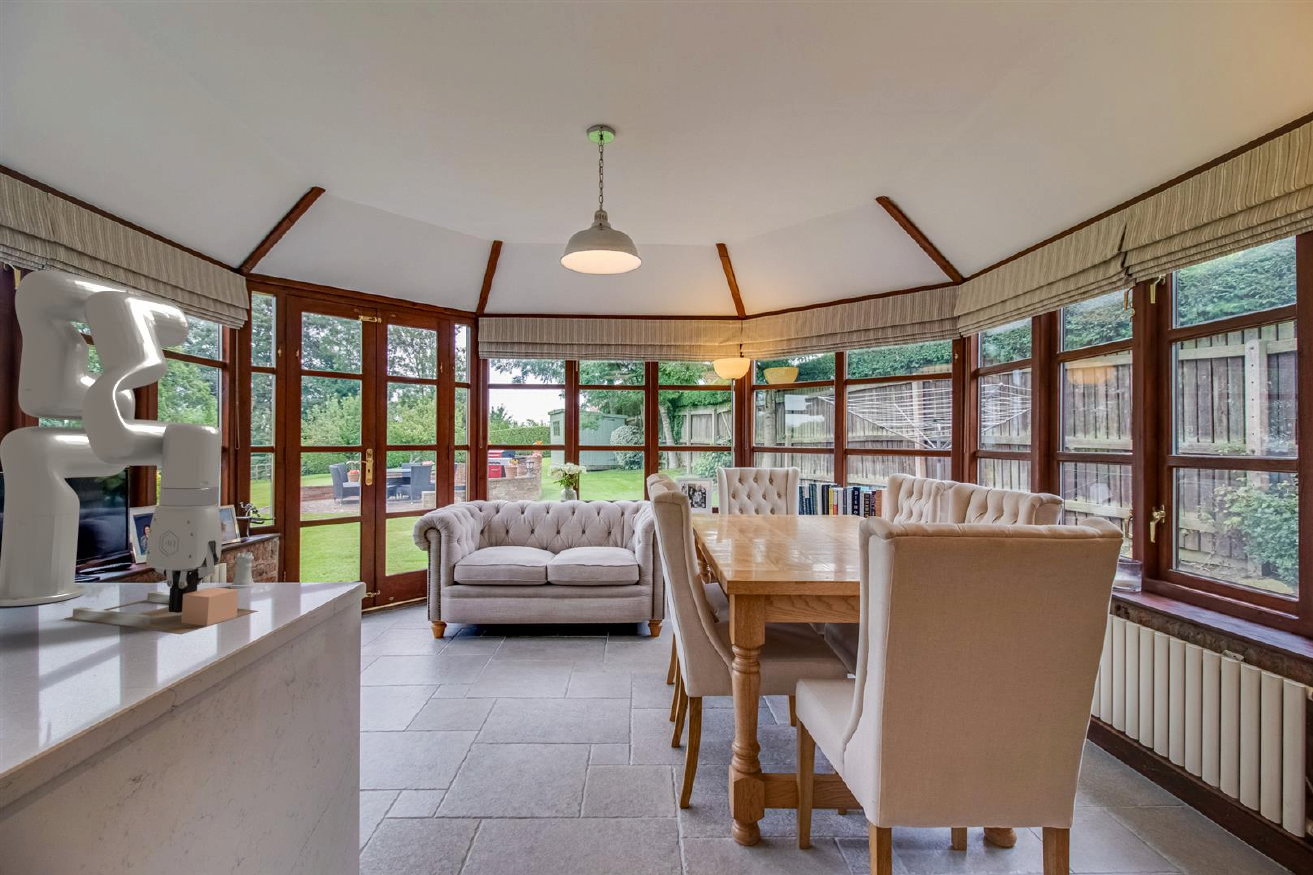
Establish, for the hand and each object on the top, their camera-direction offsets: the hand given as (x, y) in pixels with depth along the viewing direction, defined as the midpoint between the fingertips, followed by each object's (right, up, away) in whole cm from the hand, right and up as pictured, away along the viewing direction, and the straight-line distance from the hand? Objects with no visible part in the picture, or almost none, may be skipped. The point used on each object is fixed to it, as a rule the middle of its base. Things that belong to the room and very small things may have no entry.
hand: (182, 610), depth 93 cm
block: (+5, -1, -1) cm, 5 cm away
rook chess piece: (-5, -3, +20) cm, 21 cm away
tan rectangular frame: (-3, -2, +1) cm, 4 cm away
